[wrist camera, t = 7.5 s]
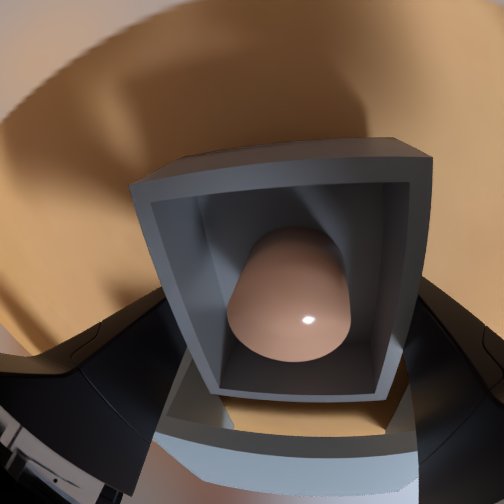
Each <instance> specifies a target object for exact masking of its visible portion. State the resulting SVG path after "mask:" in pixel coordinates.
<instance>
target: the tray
mask: <svg viewBox="0 0 504 504" xmlns="http://www.w3.org/2000/svg"><path fill="white" fill-rule="evenodd" d="M432 174H433V157H431V156H429V155H427V154H426V153H424V152H422V151H420V150H418V149H416V148H414V147H412V146H410V145H408V144H406V143H404V142H402V141H400V140H398V139H396V138H393V137H367V138H335V139H317V140H303V141H292V142H281V143H272V144H263V145H255V146H248V147H240V148H233V149H227V150H221V151H214V152H209V153H203V154H197V155H192V156H187V157H182V158H180V159H178V160H176V161H174V162H172V163H170V164H168V165H166V166H164V167H162V168H160V169H158V170H156V171H154V172H152V173H150V174H148V175H146V176H144V177H142V178H141V179H139V180H137V181H135V182H133V183H131V184H130V185H128V187H129V190H130V194H131V197H132V200H133V204H134V207H135V210H136V214H137V217H138V220H139V223H140V226H141V229H142V232H143V235H144V238H145V241H146V244H147V247H148V250H149V253H150V255H151V258H152V261H153V264H154V266H155V269H156V272H157V275H158V277H159V280H160V282H161V285H162V288H163V290H164V293H165V295H166V298H167V300H168V302H169V304H170V307H171V309H172V312H173V314H174V316H175V319H176V321H177V324H178V326H179V328H180V330H181V333H182V335H183V337H184V340H185V342H186V344H187V347H188V349H189V351H190V353H191V355H192V357H193V359H194V362H195V364H196V366H197V368H198V370H199V372H200V374H201V376H202V378H203V380H204V382H205V384H206V386H207V388H208V390H209V392H210V394H216V395H224V396H231V397H240V398H249V399H260V400H273V401H290V402H358V401H375V400H386V398H387V395H388V393H389V390H390V387H391V385H392V382H393V379H394V376H395V374H396V371H397V368H398V365H399V362H400V359H401V356H402V353H403V348H404V345H405V342H406V338H407V335H408V331H409V327H410V324H411V320H412V316H413V312H414V308H415V304H416V299H417V296H418V291H419V287H420V282H421V276H422V271H423V265H424V259H425V253H426V246H427V238H428V230H429V221H430V210H431V196H432ZM288 226H301V227H307V228H311V229H314V230H317V231H319V232H321V233H323V234H325V235H326V236H327V237H329V238H330V239H331V240H332V241H333V242H334V243H335V244H336V245H337V246H338V248H339V249H340V251H341V253H342V255H343V257H344V261H345V266H346V274H347V283H348V292H349V302H350V314H351V324H350V329H349V332H348V334H347V336H346V338H345V339H344V341H343V342H342V343H341V344H340V345H339V346H338V347H337V348H336V349H335V350H333V351H332V352H330V353H328V354H327V355H325V356H322V357H320V358H317V359H313V360H309V361H302V362H286V361H279V360H275V359H271V358H268V357H265V356H262V355H260V354H258V353H256V352H254V351H252V350H251V349H249V348H248V347H246V346H245V345H244V344H243V343H242V342H241V341H240V340H239V339H238V338H237V337H236V336H235V334H234V333H233V331H232V329H231V327H230V325H229V322H228V317H227V307H228V303H229V300H230V297H231V295H232V293H233V290H234V288H235V286H236V284H237V281H238V279H239V277H240V274H241V272H242V270H243V267H244V265H245V263H246V261H247V258H248V256H249V254H250V251H251V250H252V248H253V246H254V245H255V243H256V242H257V241H258V240H259V239H260V238H261V237H263V236H264V235H265V234H267V233H269V232H270V231H273V230H275V229H278V228H282V227H288Z"/></svg>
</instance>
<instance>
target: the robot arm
mask: <svg viewBox="0 0 504 504" xmlns="http://www.w3.org/2000/svg"><path fill="white" fill-rule="evenodd" d="M186 348H187V344H186V342H185V340H184V337H183V335H182V333H181V330H180V328H179V326H178V324H177V321H176V319H175V316H174V314H173V312H172V309H171V307H170V304H169V302H168V300H167V298H166V295H165V293H164V290H163V288H162V286H161V287H159V288H158V289H156V290H154V291H152V292H151V293H149V294H147V295H145V296H144V297H142V298H140V299H139V300H137V301H135V302H133V303H132V304H130V305H128V306H126V307H125V308H123V309H121V310H120V311H118V312H116V313H114V314H113V315H111V316H109V317H108V318H106V319H104V320H103V321H102V322H99V323H97V324H96V325H94V326H92V327H91V328H89V329H87V330H85V331H84V332H82V333H80V334H78V335H76V336H74V337H72V338H71V339H69V340H67V341H65V342H63V343H61V344H59V345H57V346H55V347H53V348H51V349H49V350H47V351H45V352H43V353H41V354H39V355H35V356H31V357H22V356H16V355H9V354H3V353H0V504H120V502H121V499H122V496H123V493H124V494H126V495H128V496H131V497H132V495H133V493H134V490H135V487H136V484H137V482H138V479H139V476H140V473H141V470H142V467H143V464H144V461H145V459H146V456H147V453H148V450H149V447H150V444H151V441H152V439H153V436H154V433H155V430H156V428H157V425H158V422H159V419H160V417H161V414H162V411H163V409H164V406H165V403H166V401H167V398H168V395H169V393H170V390H171V387H172V385H173V382H174V379H175V377H176V374H177V372H178V369H179V366H180V364H181V361H182V359H183V356H184V354H185V351H186ZM403 352H404V357H405V362H406V367H407V372H408V378H409V384H410V390H411V396H412V403H413V410H414V419H415V428H416V438H417V451H418V466H419V467H418V473H419V504H504V340H503V339H502V338H501V337H500V336H498V335H497V334H496V333H495V332H493V331H492V330H491V329H490V328H489V327H488V326H485V324H484V323H483V322H481V321H480V320H479V319H478V318H477V317H475V316H474V315H473V314H472V313H470V312H469V311H468V310H467V309H465V308H464V307H463V306H462V305H460V304H459V303H458V302H456V301H455V300H454V299H453V298H451V297H450V296H449V295H447V294H446V293H445V292H443V291H442V290H441V289H439V288H438V287H437V286H435V285H434V284H433V283H431V282H430V281H429V280H427V279H426V278H424V277H423V276H421V282H420V287H419V291H418V296H417V299H416V304H415V308H414V312H413V316H412V320H411V324H410V327H409V331H408V335H407V338H406V342H405V345H404V348H403Z"/></svg>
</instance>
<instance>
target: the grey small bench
mask: <svg viewBox="0 0 504 504" xmlns="http://www.w3.org/2000/svg"><path fill="white" fill-rule="evenodd" d="M233 429H234V425H233V423H232V421H231V419H230V417H229V415H228V413H227V411H226V409H225V407H224V405H223V403H222V401H221V399H220V397H219V395H216V394H210V392H209V390H208V388H207V386H206V384H205V382H204V380H203V378H202V376H201V374H200V372H199V370H198V368H197V366H196V364H195V362H194V359H193V357H192V355H191V353H190V351H189V349H188V348H186V351H185V354H184V356H183V359H182V361H181V364H180V366H179V369H178V372H177V374H176V377H175V379H174V382H173V385H172V387H171V390H170V393H169V395H168V398H167V401H166V403H165V406H164V409H163V411H162V414H161V417H160V419H159V422H158V425H157V428H156V430H155V433H154V436H153V439H154V440H155V441H156V442H157V443H158V444H159V445H160V446H161V447H162V448H164V449H165V450H166V451H167V452H168V453H169V454H170V455H172V456H173V457H174V458H175V459H176V460H177V461H179V462H180V463H181V464H182V465H184V466H185V467H186V468H187V469H189V470H190V471H191V472H193V473H194V474H195V475H196V476H198V477H199V478H200V479H202V480H203V481H206V482H211V483H214V484H219V485H223V486H228V487H233V488H239V489H244V490H251V491H257V492H265V493H273V494H283V495H295V496H320V497H327V496H328V497H331V496H332V497H334V496H335V497H336V496H359V495H372V494H382V493H390V492H396V491H399V490H401V489H402V488H404V487H405V486H407V485H408V484H410V483H411V482H412V481H414V480H415V479H416V478H418V477H419V473H418V467H419V466H418V451H417V438H416V428H415V419H414V410H413V403H412V396H411V390H410V384H408V386H407V389H406V391H405V393H404V395H403V397H402V399H401V401H400V403H399V405H398V407H397V409H396V411H395V413H394V415H393V417H392V419H391V421H390V423H389V425H388V426H387V428H386V430H385V434H383V435H371V436H354V437H303V436H285V435H273V434H263V433H254V432H246V431H239V430H233Z"/></svg>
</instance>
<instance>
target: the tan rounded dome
mask: <svg viewBox="0 0 504 504" xmlns="http://www.w3.org/2000/svg"><path fill="white" fill-rule="evenodd" d="M227 317H228V322H229V325H230V327H231V329H232V331H233V333H234V334H235V336H236V337H237V338H238V339H239V340H240V341H241V342H242V343H243V344H244V345H245V346H246V347H248V348H249V349H251V350H252V351H254V352H256V353H258V354H260V355H262V356H265V357H268V358H271V359H275V360H279V361H286V362H302V361H309V360H313V359H317V358H320V357H322V356H325V355H327V354H328V353H330V352H332V351H333V350H335V349H336V348H337V347H338V346H339V345H340V344H341V343H342V342H343V341H344V339H345V338H346V336H347V334H348V332H349V329H350V324H351V314H350V302H349V292H348V283H347V274H346V266H345V261H344V257H343V255H342V253H341V251H340V249H339V248H338V246H337V245H336V244H335V243H334V242H333V241H332V240H331V239H330V238H329V237H327V236H326V235H325V234H323V233H321V232H319V231H317V230H314V229H311V228H307V227H301V226H288V227H282V228H278V229H275V230H273V231H270V232H269V233H267V234H265V235H264V236H263V237H261V238H260V239H259V240H258V241H257V242H256V243H255V245H254V246H253V248H252V250H251V251H250V254H249V256H248V258H247V261H246V263H245V265H244V267H243V270H242V272H241V274H240V277H239V279H238V281H237V284H236V286H235V288H234V290H233V293H232V295H231V297H230V300H229V303H228V307H227Z"/></svg>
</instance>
